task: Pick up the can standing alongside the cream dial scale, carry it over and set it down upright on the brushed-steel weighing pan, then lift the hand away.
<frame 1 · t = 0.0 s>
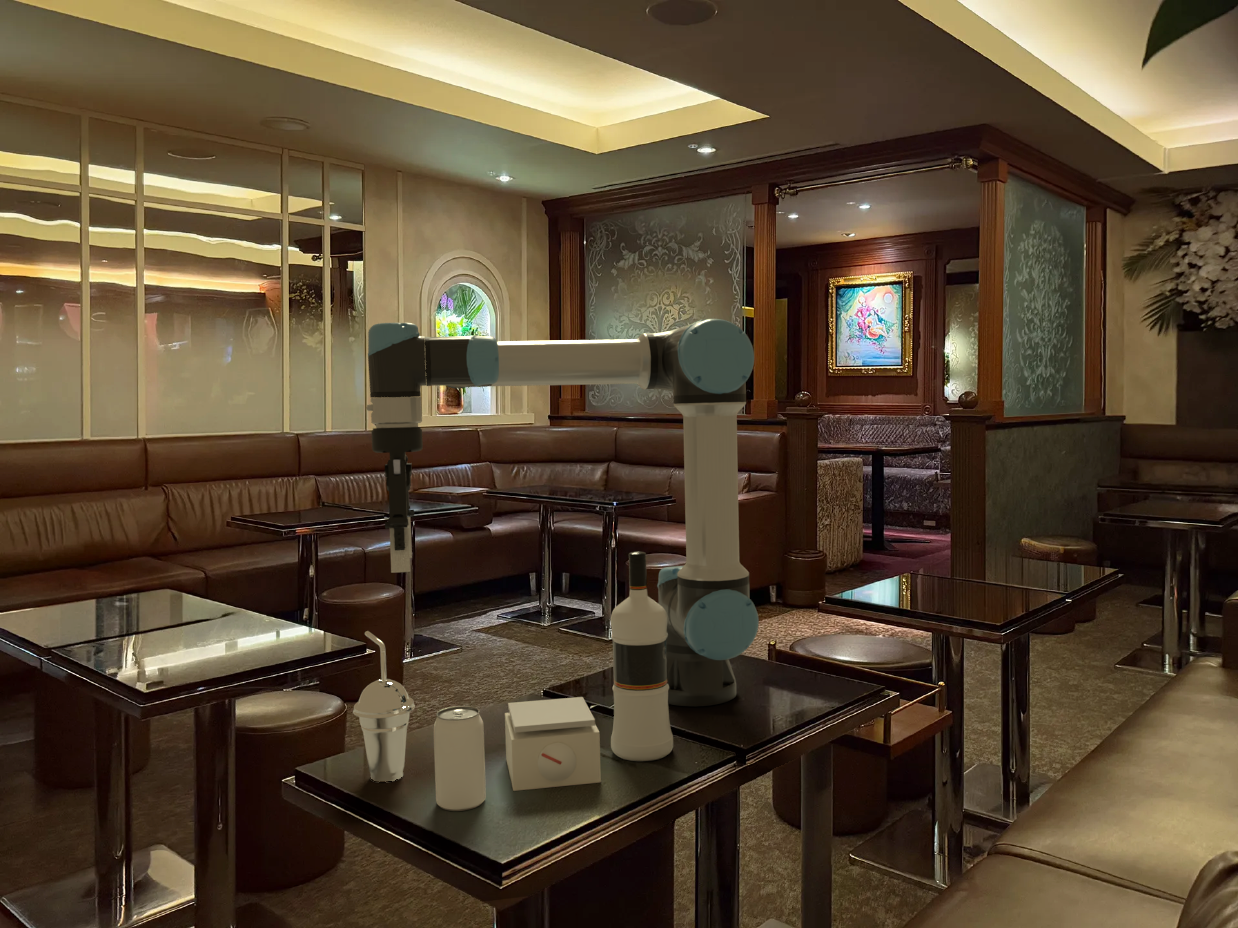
hand: (402, 564, 150), 28 cm above the table, tool pointing down, fingers open, 13 cm apart
scale: (551, 770, 140), on the table
cup with straw: (387, 777, 139), on the table
can: (461, 803, 129), on the table
vodka: (642, 753, 146), on the table
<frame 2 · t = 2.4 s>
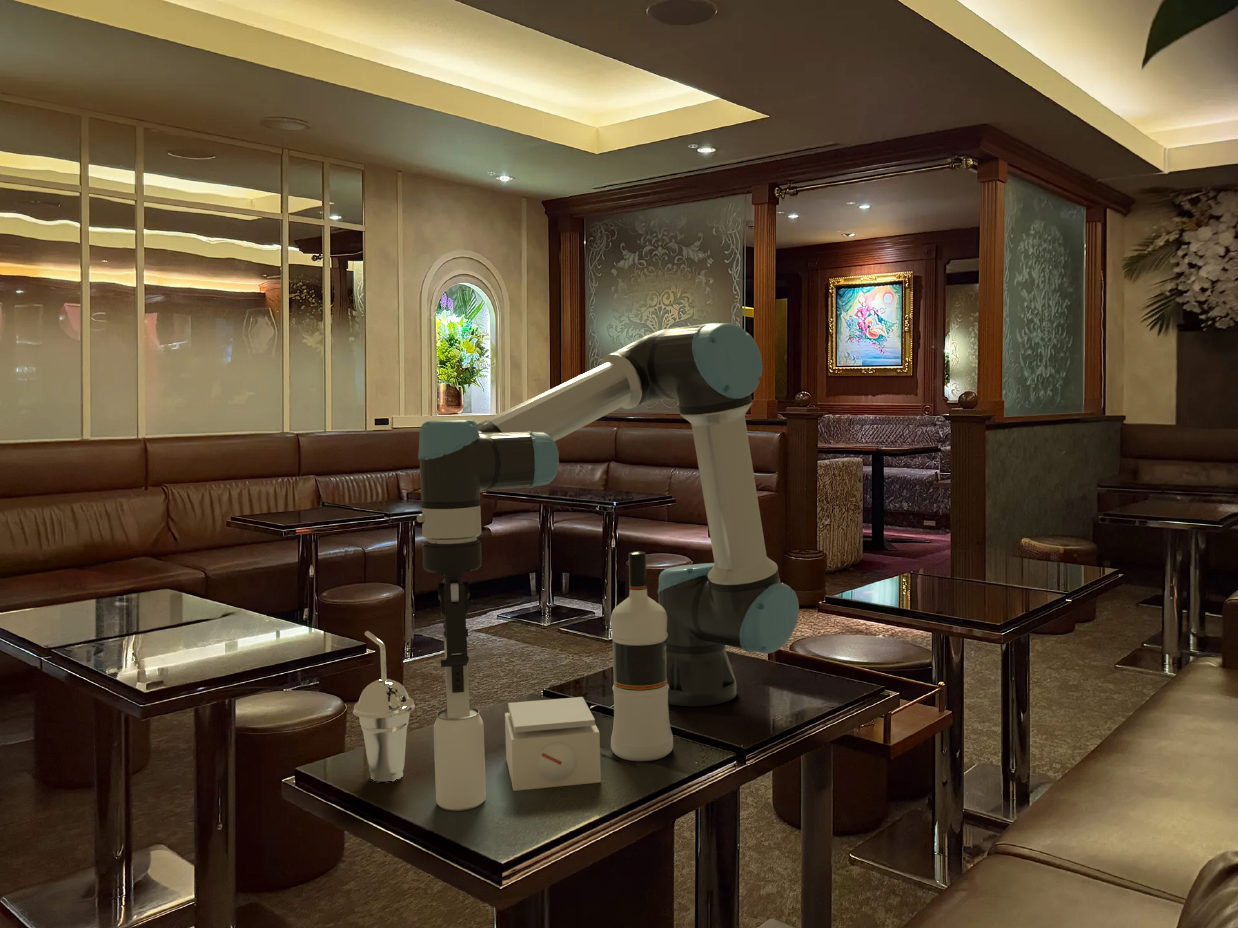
hand: (457, 700, 128), 14 cm above the table, tool pointing down, fingers open, 13 cm apart
nothing on the table moved.
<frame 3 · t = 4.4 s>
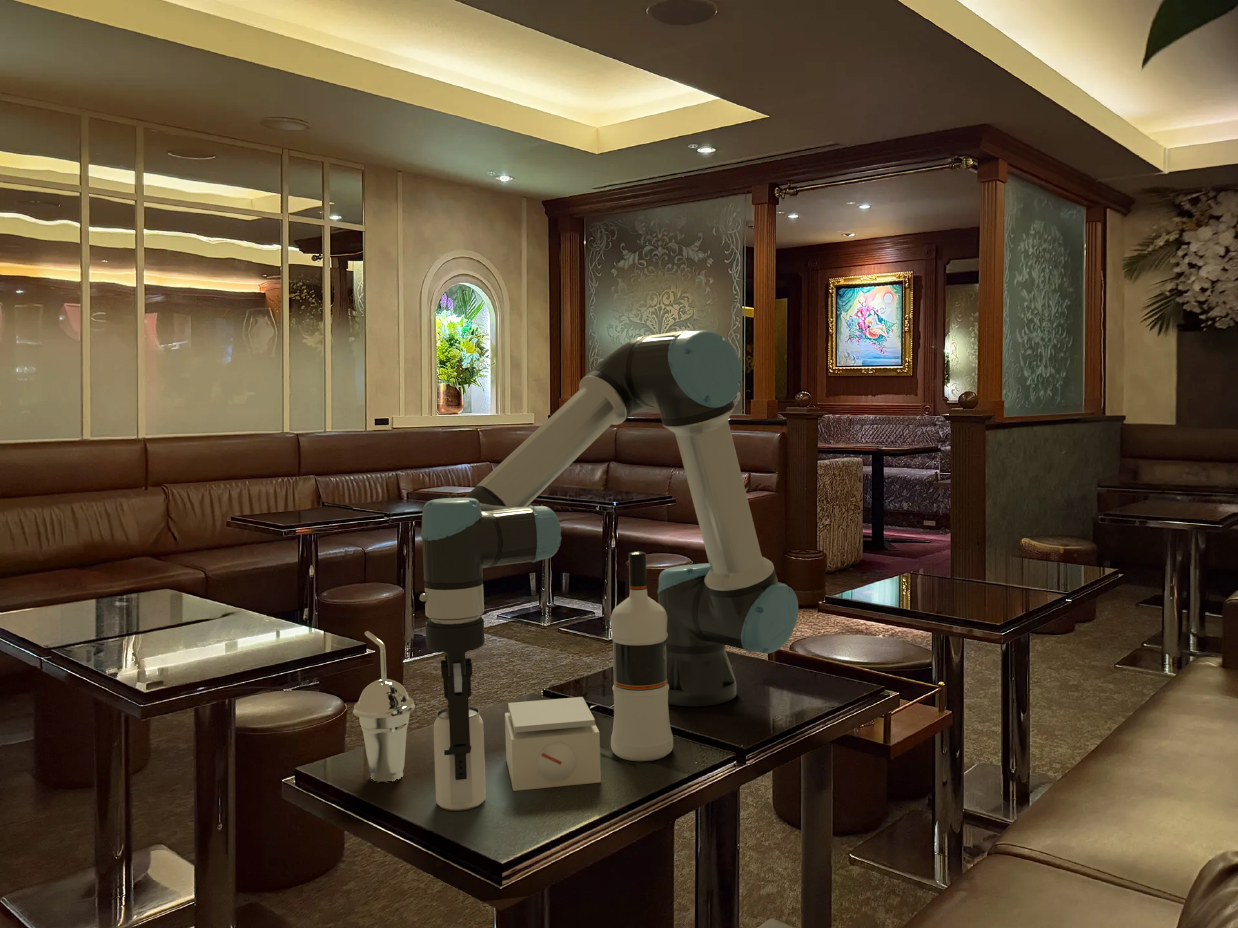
hand: (460, 791, 129), 1 cm above the table, tool pointing down, fingers open, 6 cm apart
can: (461, 803, 129), on the table, touching gripper
everything else where it was.
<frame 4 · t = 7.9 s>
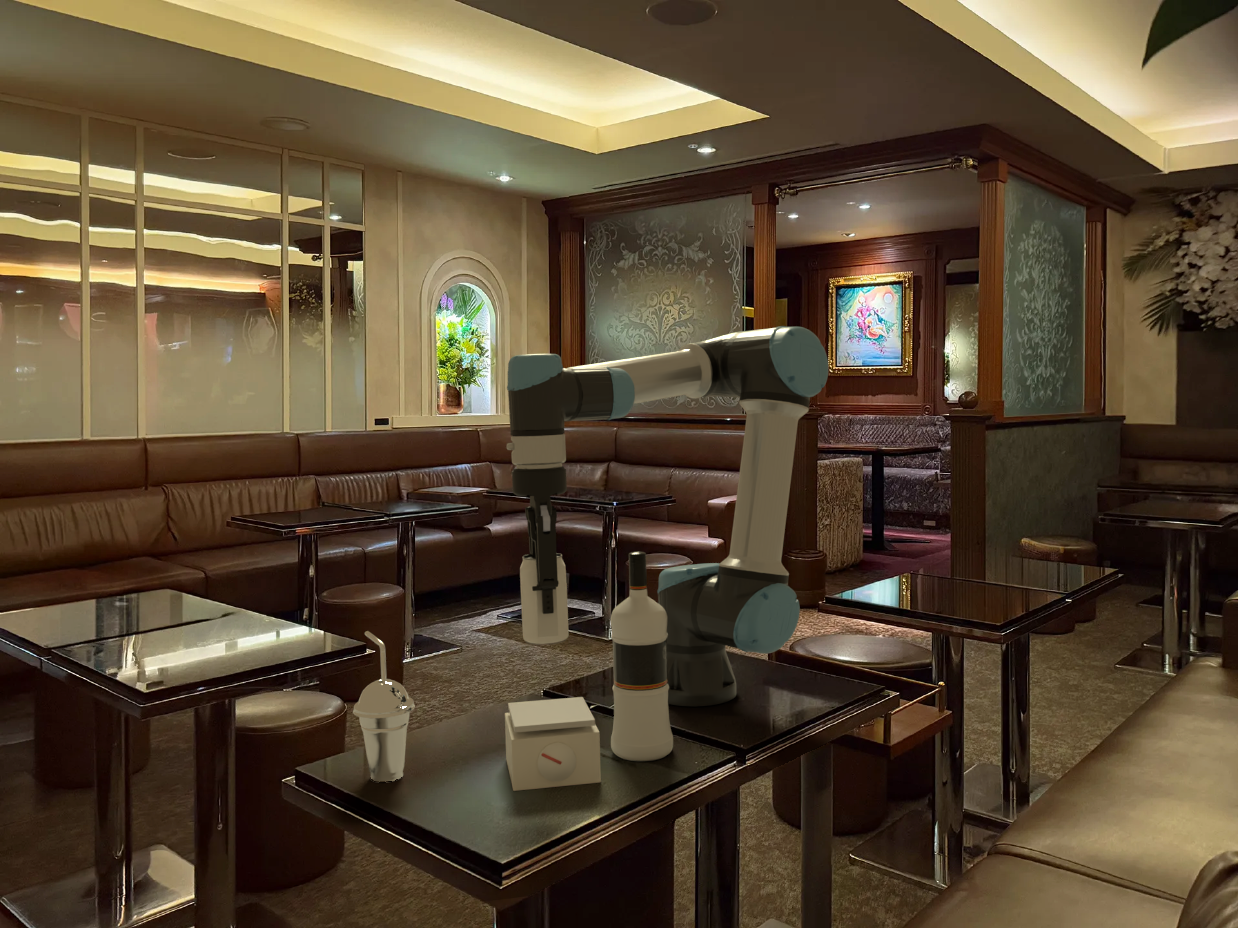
hand: (545, 631, 138), 20 cm above the table, tool pointing down, fingers closed on can, 4 cm apart
can: (546, 641, 139), point 18 cm above the table, touching gripper
everything else where it was.
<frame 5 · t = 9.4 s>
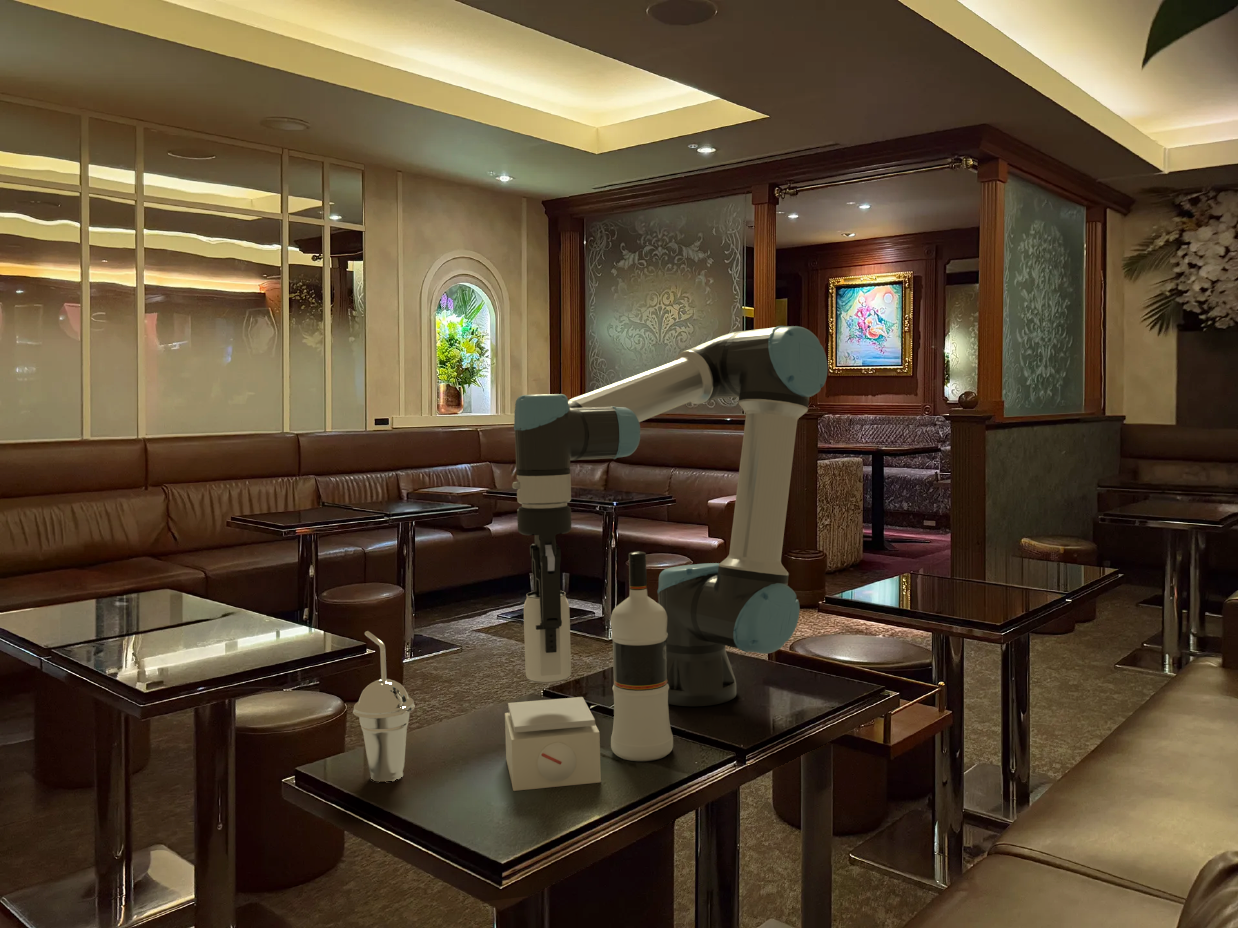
hand: (548, 669, 139), 15 cm above the table, tool pointing down, fingers closed on can, 4 cm apart
can: (548, 678, 140), point 13 cm above the table, touching gripper
everything else where it was.
when the fingers open (11 cm above the table, at t = 10.9 s): can drops 1 cm, resting on scale.
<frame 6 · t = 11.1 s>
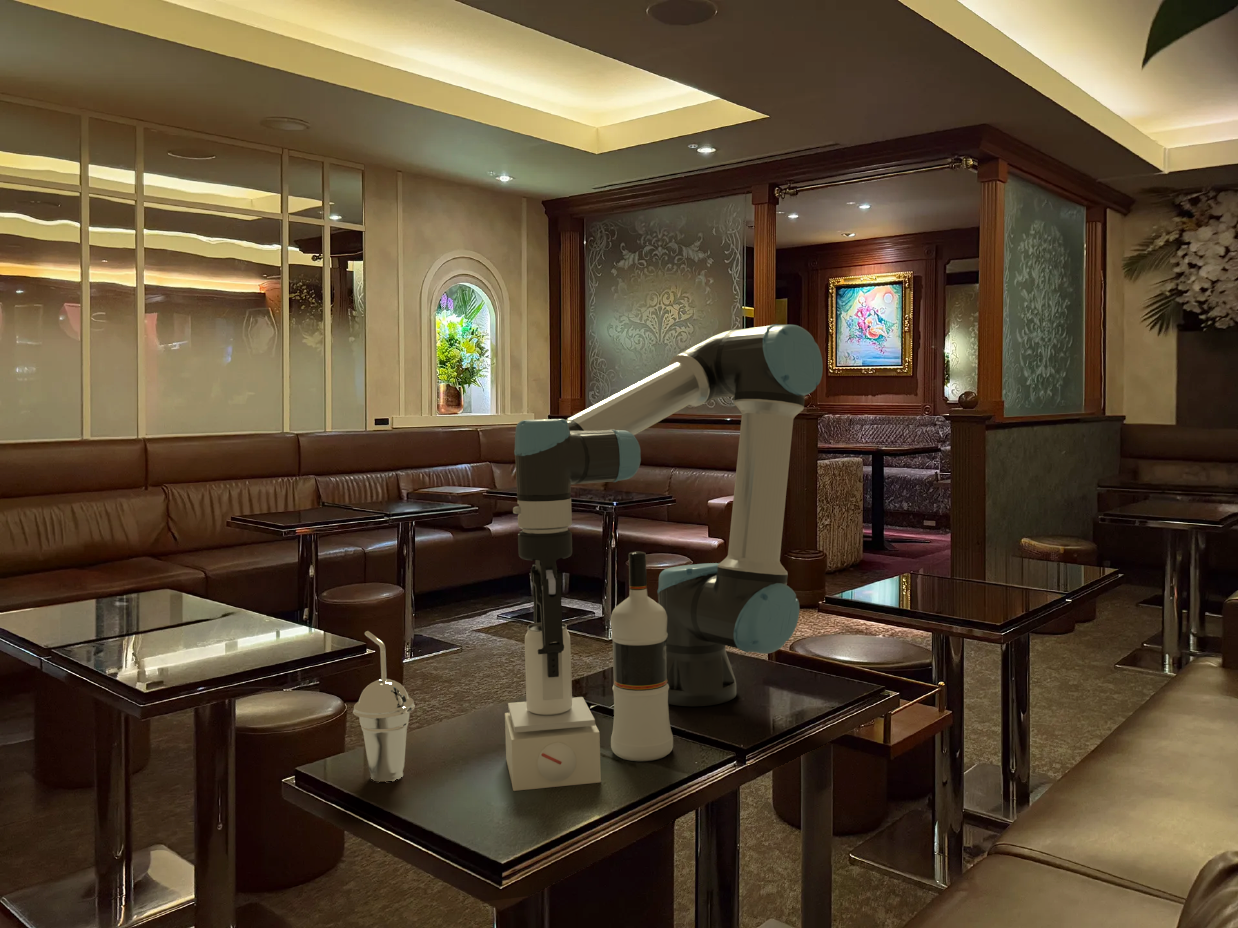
hand: (549, 690, 139), 12 cm above the table, tool pointing down, fingers open, 7 cm apart
can: (549, 710, 140), point 8 cm above the table, touching scale
everything else where it was.
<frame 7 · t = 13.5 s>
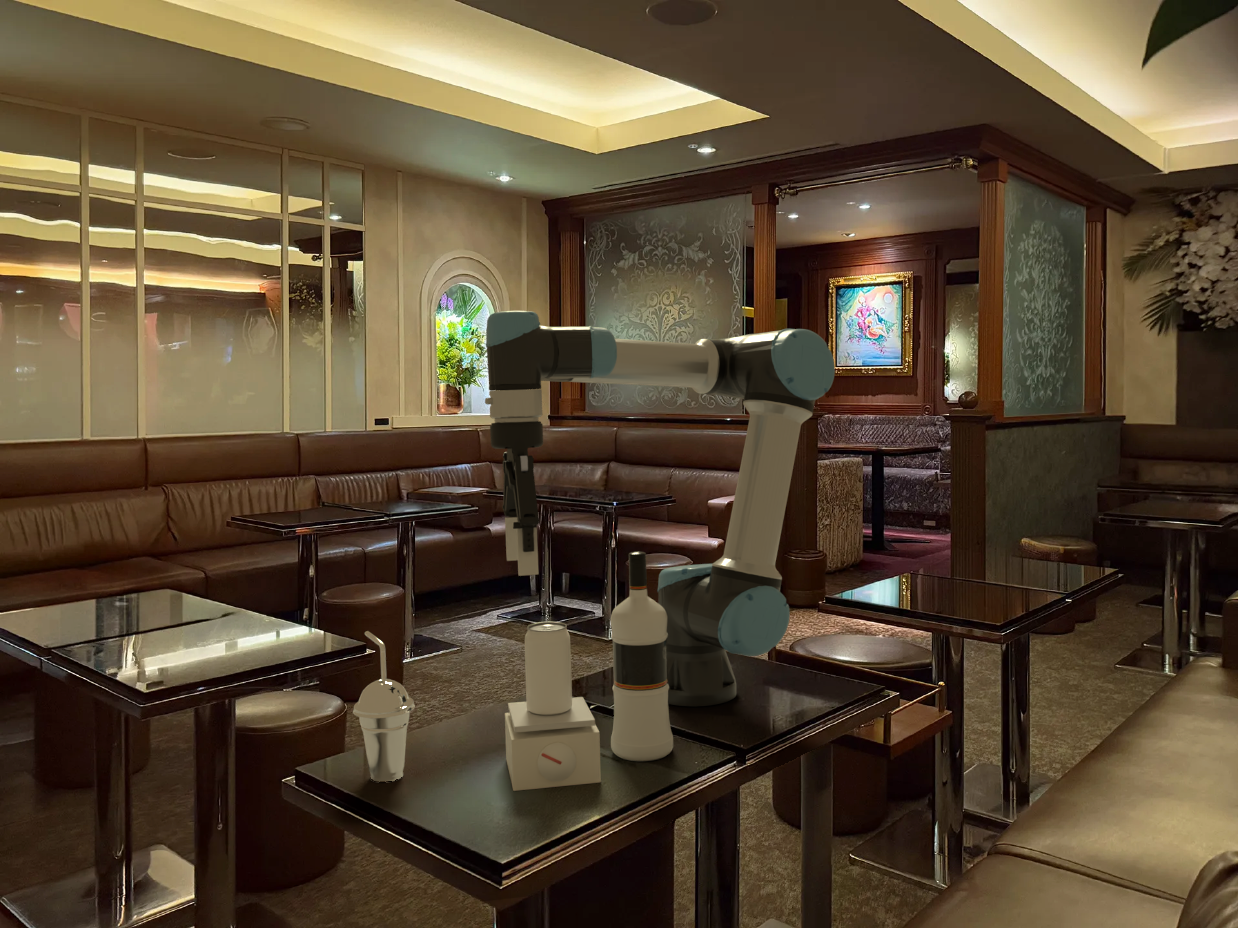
hand: (521, 567, 142), 28 cm above the table, tool pointing down, fingers open, 13 cm apart
nothing on the table moved.
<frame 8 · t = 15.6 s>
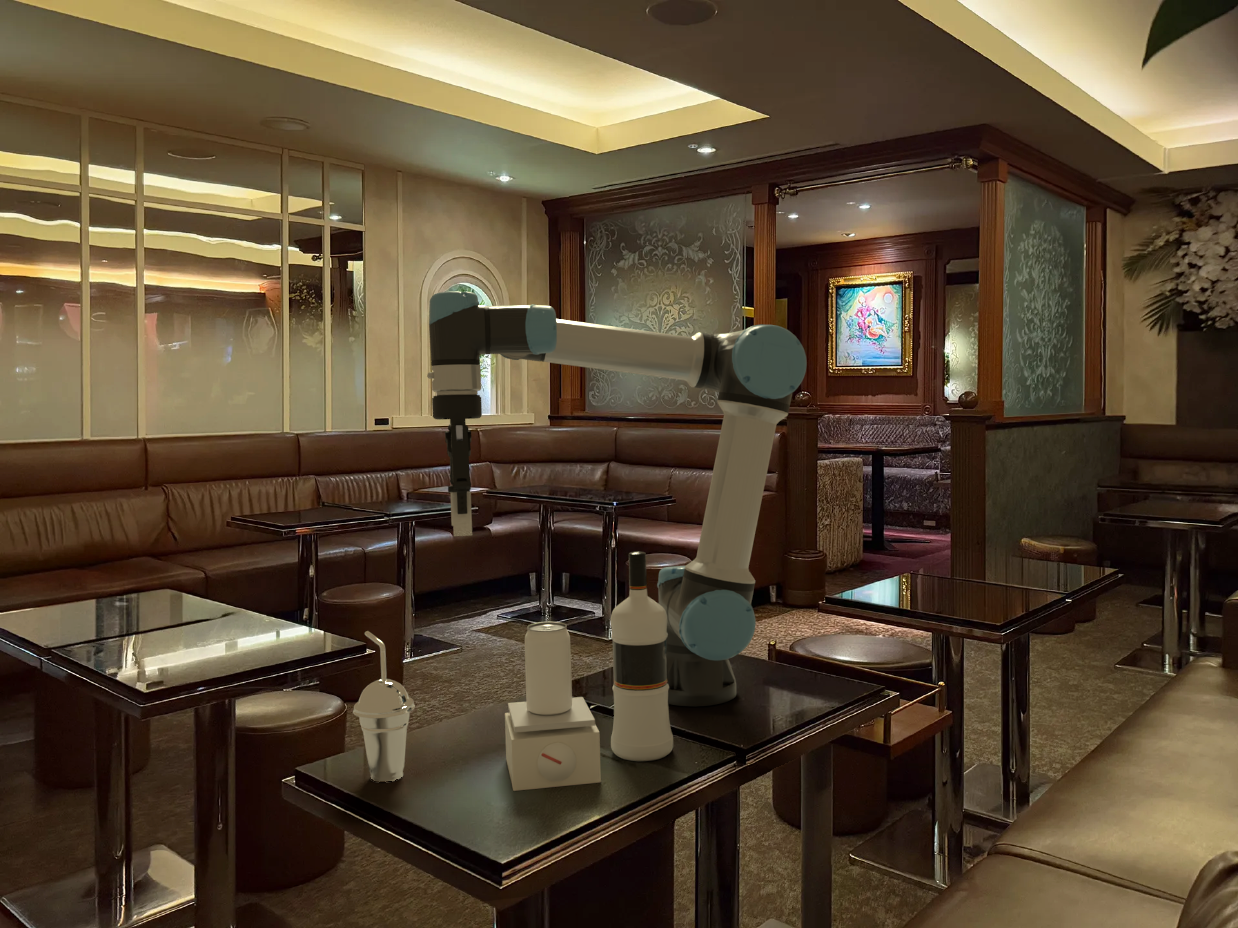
hand: (461, 530, 153), 33 cm above the table, tool pointing down, fingers open, 13 cm apart
nothing on the table moved.
at the end: can inside the target area on the scale (0.8 cm from its centre), point 8.4 cm above the scale's base; can tilted 0°; the gripper is holding nothing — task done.
